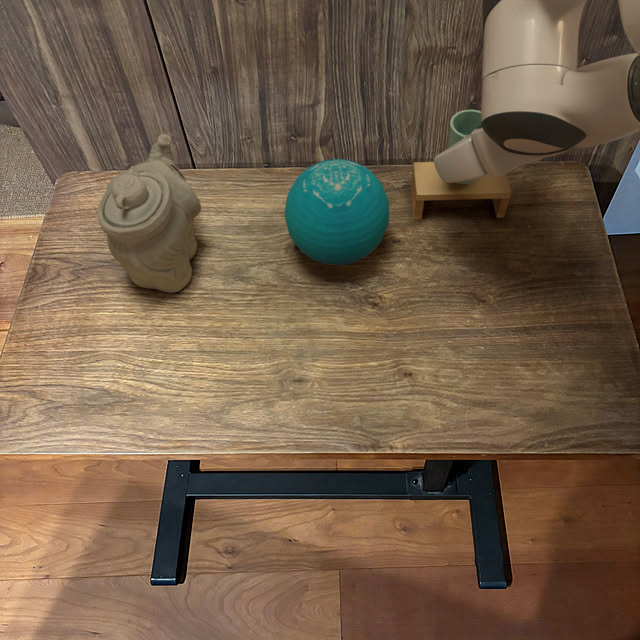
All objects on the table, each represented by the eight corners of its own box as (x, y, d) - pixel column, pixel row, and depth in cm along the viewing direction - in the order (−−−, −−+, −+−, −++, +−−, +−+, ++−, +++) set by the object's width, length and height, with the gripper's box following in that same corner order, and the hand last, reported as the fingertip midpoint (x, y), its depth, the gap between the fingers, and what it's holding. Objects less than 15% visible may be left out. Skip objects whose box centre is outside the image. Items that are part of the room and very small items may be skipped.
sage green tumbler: (467, 192, 92) (477, 144, 84) (434, 173, 94) (441, 125, 87) (490, 170, 94) (502, 121, 87) (457, 152, 97) (466, 103, 89)
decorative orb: (380, 206, 100) (385, 131, 87) (393, 281, 92) (400, 211, 79) (286, 214, 100) (277, 140, 87) (291, 290, 91) (282, 220, 79)
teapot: (181, 201, 102) (151, 105, 86) (241, 250, 96) (220, 157, 80) (97, 258, 96) (47, 166, 80) (154, 315, 90) (113, 227, 74)
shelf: (497, 185, 101) (504, 159, 97) (503, 217, 97) (511, 192, 93) (410, 187, 102) (413, 162, 97) (413, 220, 98) (416, 195, 93)
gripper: (578, 64, 80) (504, 93, 93) (468, 137, 74) (404, 157, 86) (595, 110, 82) (520, 132, 95) (489, 184, 75) (424, 197, 88)
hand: (464, 144), depth 90 cm, fingers closed on sage green tumbler, 6 cm apart
